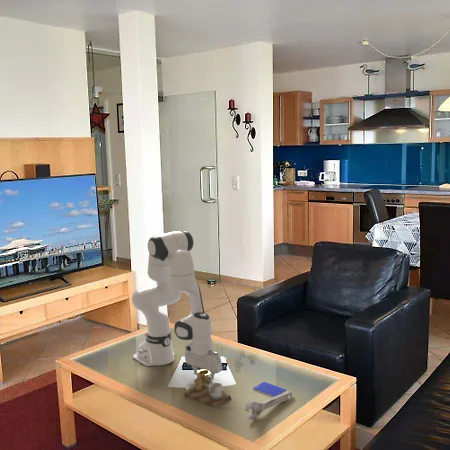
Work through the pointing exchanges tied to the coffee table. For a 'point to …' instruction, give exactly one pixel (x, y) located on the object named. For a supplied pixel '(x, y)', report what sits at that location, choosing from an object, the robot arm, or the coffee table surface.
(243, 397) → the coffee table surface
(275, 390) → the hard drive
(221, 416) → the coffee table surface
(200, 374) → the ring
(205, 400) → the stub board
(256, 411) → the wrench
